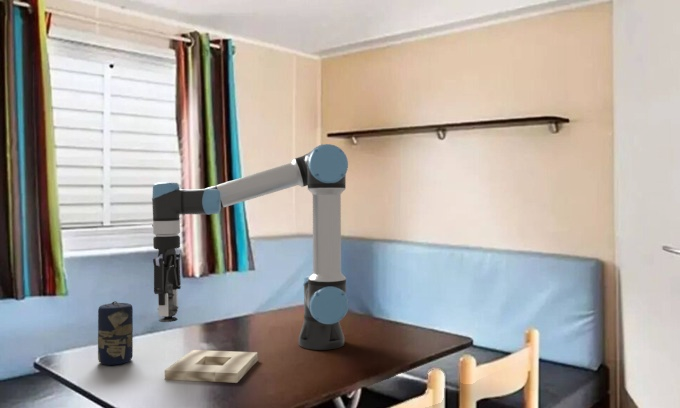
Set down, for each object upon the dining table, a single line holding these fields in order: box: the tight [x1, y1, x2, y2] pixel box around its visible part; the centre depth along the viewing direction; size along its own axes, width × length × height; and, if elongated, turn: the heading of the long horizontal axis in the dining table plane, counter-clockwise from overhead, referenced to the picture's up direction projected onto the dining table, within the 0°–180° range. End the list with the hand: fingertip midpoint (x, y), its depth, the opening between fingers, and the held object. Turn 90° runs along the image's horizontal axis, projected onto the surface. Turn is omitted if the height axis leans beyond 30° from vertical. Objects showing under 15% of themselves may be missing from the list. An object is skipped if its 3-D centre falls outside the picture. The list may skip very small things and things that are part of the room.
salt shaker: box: [158, 282, 179, 323], centre depth 168 cm, size 6×6×12 cm
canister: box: [97, 300, 134, 366], centre depth 168 cm, size 10×10×18 cm
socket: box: [164, 349, 258, 384], centre depth 161 cm, size 20×20×2 cm
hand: (168, 313), depth 168 cm, fingers closed on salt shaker, 6 cm apart
